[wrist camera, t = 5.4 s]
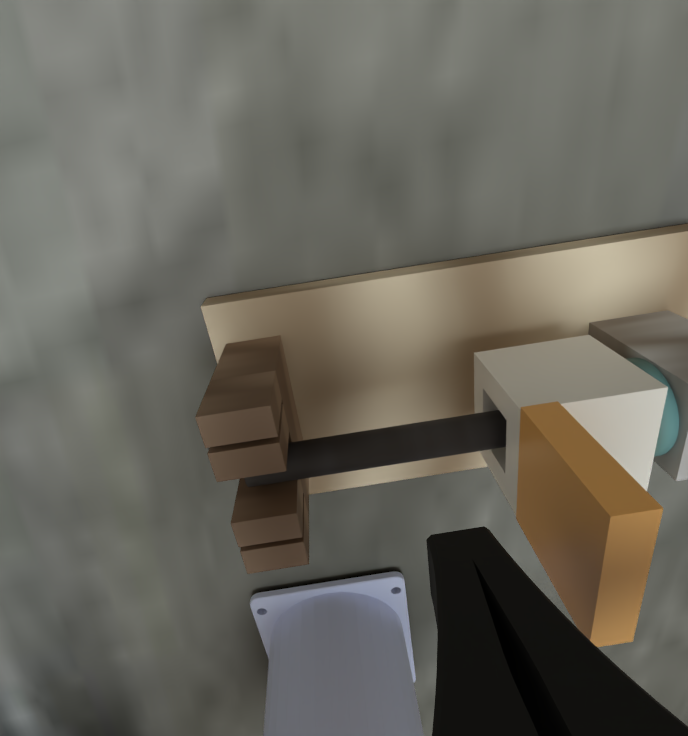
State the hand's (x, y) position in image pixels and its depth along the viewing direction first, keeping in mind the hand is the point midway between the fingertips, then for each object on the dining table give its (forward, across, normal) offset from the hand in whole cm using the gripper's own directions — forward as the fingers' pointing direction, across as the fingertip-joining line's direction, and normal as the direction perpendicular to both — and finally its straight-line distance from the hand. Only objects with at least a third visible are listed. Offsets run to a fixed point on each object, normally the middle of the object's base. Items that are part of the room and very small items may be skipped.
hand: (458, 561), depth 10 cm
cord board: (+9, -2, 0) cm, 10 cm away
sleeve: (+7, -5, 0) cm, 8 cm away
